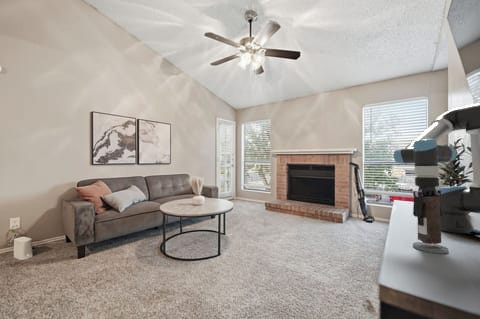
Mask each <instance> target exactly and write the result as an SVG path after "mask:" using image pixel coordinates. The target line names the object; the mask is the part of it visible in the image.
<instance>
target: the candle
mask: <svg viewBox="0 0 480 319" xmlns="http://www.w3.org/2000/svg"><path fill="white" fill-rule="evenodd" d="M425 202H426V213H425V217H424V218H426V221H427V235H425V234H421V233H418V232H417V240H418V241H420V242H423V243H427V244H431V243H432V244H437V245H440V244H442V230H441V221H440V196H439V195H437V194H436V195H432V196H430V197H422V203H425Z"/></svg>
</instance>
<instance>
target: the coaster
mask: <svg viewBox="0 0 480 319" xmlns="http://www.w3.org/2000/svg"><path fill="white" fill-rule="evenodd" d="M412 247H413V248H414V249H416V250H417V251H421V252H424V253H428V254H437V255H447V254H449V248H447V247H446V246H443V245H440V244H433V243H431V244H427V243H423V242H422V241H415V242H413V243H412Z"/></svg>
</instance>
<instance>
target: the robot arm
mask: <svg viewBox="0 0 480 319" xmlns="http://www.w3.org/2000/svg"><path fill="white" fill-rule="evenodd" d="M459 130H460V131H461V130H465V133H466V134H469V135H470V149H471V150H470V152H471V165H472V166H471V167H472V168H471V169H472V177H473V179H472V182H473V183H471V184H470V185H469V186H468V187H469V188H467V186H466V185H464V186H463V185H461V186H459V185H458V186H442V187H439V186H440V181H439V180H440V178H439V163H440V164H446V163H451V162H453V161H454V160H455V159H456V158H457V156H458V155H457V154H458V152H457V150H456V149H455V147H453V146H450V145H446V144H444V145H441V144H439V145H438V141H440V140H441V139H442V138H443V137H444V136H447V135H449V134H450V133H451V132H454V131H459ZM392 156H393V159H394V162H395V163H397V164H402V165H405V164H406V165H408V164H409V165H410V164H414V175H415V176H416V177H414V185H415V186H416V187H418V189H417V191H416V190H414V191H413V192H412V194H413V206H412V215H413V216H414V217H416V218H417V234H418V233H421V234H425V235H427V221H426V218H424V217H425V213H426V202H425V203H422V197H430V196H432V195H436V194H437V195H439V196H440V221H441V231H444V232H449V233H457V234H471V233H470V232H471V231H472V230H474V231H475V228H474V225H473V224H472V222H471V220H470V219H471V218H469V213H473V214H480V102H479V103H474V104H470V105H465V106H460V107H455V108H452V109H450V110H448V111H445V112H444V113H442V114H440V116H438V117H436V118H435V119H434V120H432V121H431V123H430V126H429V127H428V128H426V129H425V130H423V132H422V133H421V134H419V135H418V136H417V137H416V138H415V139H414V140H412V141H411V142H409V144H408V145H407V146H405V147H404V148H401V147H400V148H397V149H395V150H394V152H393V155H392ZM436 187H438V188H436Z"/></svg>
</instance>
